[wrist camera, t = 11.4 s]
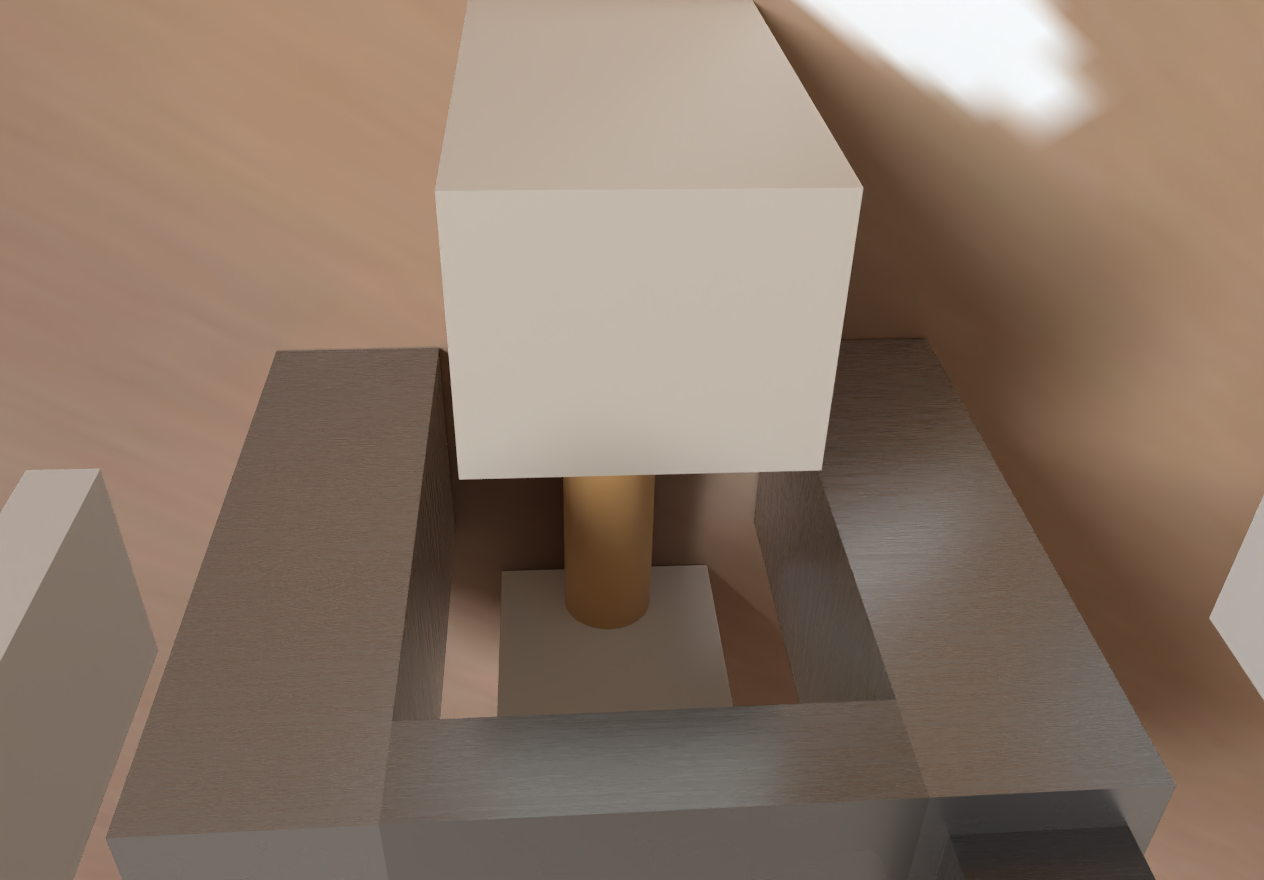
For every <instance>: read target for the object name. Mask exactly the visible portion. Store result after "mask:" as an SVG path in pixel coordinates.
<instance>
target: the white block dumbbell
mask: <svg viewBox="0 0 1264 880" xmlns="http://www.w3.org/2000/svg"><path fill="white" fill-rule="evenodd" d="M862 194H863V186H862V184H861V183H860V181H859V179H858V178H857V176H856V174H855V173H854V171H853V169H852V167H851V166H850V164H849V162H848V161H847V159H846V157H845V156H844V154H843V152H842V151H841V149H840V147H839V146H838V144H837V142H836V140H835V139H834V137H833V135H832V134H831V132H830V130H829V129H828V127H827V125H826V124H825V122H824V120H823V119H822V117H821V115H820V113H819V112H818V110H817V108H816V107H815V105H814V103H813V102H812V100H811V98H810V97H809V95H808V93H807V92H806V90H805V88H804V87H803V85H802V83H801V81H800V80H799V78H798V76H797V75H796V73H795V71H794V70H793V68H792V66H791V65H790V63H789V61H788V60H787V58H786V56H785V54H784V53H783V51H782V49H781V48H780V46H779V44H778V43H777V41H776V39H775V38H774V36H773V34H772V33H771V31H770V29H769V27H768V26H767V24H766V22H765V21H764V19H763V17H762V16H761V14H760V12H759V11H758V9H757V7H756V6H755V4H754V2H753V0H468V4H467V9H466V15H465V21H464V27H463V32H462V38H461V44H460V50H459V55H458V61H457V67H456V73H455V78H454V84H453V90H452V96H451V101H450V107H449V113H448V119H447V124H446V130H445V136H444V142H443V147H442V153H441V159H440V165H439V170H438V176H437V182H436V188H435V198H436V210H437V222H438V234H439V246H440V258H441V270H442V282H443V294H444V306H445V318H446V330H447V342H448V354H449V366H450V378H451V390H452V402H453V415H454V427H455V439H456V451H457V463H458V475H459V480H463V479H502V478H541V477H563V505H564V566H565V569H559V570H527V571H502V587H501V617H500V648H499V679H498V710H497V717H505V716H528V715H551V714H575V713H598V712H621V711H645V710H668V709H691V708H715V707H733V702H732V697H731V692H730V686H729V681H728V675H727V670H726V665H725V659H724V654H723V649H722V643H721V638H720V633H719V627H718V622H717V616H716V611H715V606H714V600H713V595H712V590H711V584H710V579H709V574H708V568H707V565H688V566H656V567H651V561H652V538H653V514H654V491H655V475H660V474H699V473H739V472H778V471H817V470H822V463H823V456H824V450H825V443H826V436H827V430H828V423H829V416H830V409H831V403H832V396H833V389H834V382H835V376H836V369H837V362H838V356H839V349H840V342H841V335H842V329H843V322H844V315H845V308H846V302H847V295H848V288H849V282H850V275H851V268H852V261H853V255H854V248H855V241H856V234H857V228H858V221H859V214H860V208H861V201H862Z"/></svg>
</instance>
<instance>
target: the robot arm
mask: <svg viewBox="0 0 1264 880" xmlns="http://www.w3.org/2000/svg"><path fill="white" fill-rule="evenodd" d="M1209 619H1210V620H1211V622H1212V623H1213V625H1214V626H1215V628H1216V629H1217V631H1218V632H1219V634H1220V635H1221V637H1222V638H1223V640H1224V641H1225V643H1226V644H1227V646H1228V647H1229V649H1230V650H1231V652H1232V653H1233V655H1234V656H1235V658H1236V659H1237V661H1238V662H1239V664H1240V665H1241V667H1242V668H1243V670H1244V671H1245V673H1246V674H1247V676H1248V677H1249V679H1250V680H1251V682H1252V683H1253V685H1254V686H1255V688H1256V689H1257V691H1258V692H1259V694H1260V695H1261V697H1262V698H1263V700H1264V496H1263V498H1262V500H1261V502H1260V505H1259V507H1258V509H1257V511H1256V514H1255V516H1254V518H1253V520H1252V523H1251V525H1250V527H1249V529H1248V532H1247V534H1246V536H1245V538H1244V541H1243V543H1242V545H1241V547H1240V550H1239V552H1238V554H1237V557H1236V559H1235V561H1234V563H1233V566H1232V568H1231V570H1230V572H1229V575H1228V577H1227V579H1226V581H1225V584H1224V586H1223V588H1222V590H1221V593H1220V595H1219V597H1218V599H1217V602H1216V604H1215V606H1214V608H1213V611H1212V613H1211V615H1210V617H1209ZM157 652H158V649H157V645H156V642H155V639H154V636H153V633H152V630H151V627H150V623H149V620H148V617H147V614H146V611H145V608H144V605H143V601H142V598H141V595H140V592H139V589H138V586H137V583H136V579H135V576H134V573H133V570H132V567H131V564H130V561H129V557H128V554H127V551H126V548H125V545H124V542H123V539H122V535H121V532H120V529H119V526H118V523H117V520H116V516H115V513H114V510H113V507H112V504H111V501H110V498H109V494H108V491H107V488H106V485H105V482H104V479H103V476H102V472H101V469H63V470H26V471H25V473H24V474H23V476H22V478H21V479H20V481H19V483H18V484H17V486H16V488H15V489H14V491H13V493H12V494H11V496H10V498H9V499H8V501H7V503H6V504H5V506H4V507H3V509H2V511H1V512H0V880H73V878H74V875H75V873H76V870H77V867H78V865H79V862H80V859H81V857H82V854H83V851H84V849H85V846H86V843H87V840H88V838H89V835H90V832H91V830H92V827H93V824H94V822H95V819H96V816H97V814H98V811H99V808H100V806H101V803H102V800H103V797H104V795H105V792H106V789H107V787H108V784H109V781H110V779H111V776H112V773H113V771H114V768H115V765H116V763H117V760H118V757H119V755H120V752H121V749H122V746H123V744H124V741H125V738H126V736H127V733H128V730H129V728H130V725H131V722H132V720H133V717H134V714H135V711H136V709H137V706H138V703H139V701H140V698H141V695H142V693H143V690H144V687H145V685H146V682H147V679H148V677H149V674H150V671H151V668H152V666H153V663H154V660H155V658H156V655H157Z"/></svg>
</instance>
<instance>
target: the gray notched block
mask: <svg viewBox="0 0 1264 880" xmlns="http://www.w3.org/2000/svg"><path fill="white" fill-rule="evenodd" d="M754 524H755V528H756V532H757V536H758V540H759V544H760V548H761V552H762V556H763V560H764V564H765V568H766V572H767V576H768V580H769V584H770V588H771V592H772V595H773V599H774V603H775V607H776V611H777V615H778V619H779V623H780V627H781V631H782V635H783V639H784V643H785V647H786V651H787V655H788V659H789V663H790V667H791V671H792V675H793V679H794V683H795V687H796V691H797V695H798V699H799V703H800V704H785V705H762V706H738V707H715V708H691V709H668V710H645V711H621V712H598V713H575V714H551V715H528V716H505V717H481V718H458V719H440V714H441V702H442V690H443V677H444V665H445V653H446V641H447V629H448V616H449V604H450V592H451V580H452V568H453V556H454V543H455V521H454V510H453V499H452V488H451V477H450V466H449V455H448V444H447V433H446V422H445V411H444V400H443V388H442V377H441V366H440V355H439V348H425V349H374V350H323V351H276V354H275V357H274V360H273V362H272V365H271V368H270V371H269V374H268V377H267V380H266V382H265V385H264V388H263V391H262V394H261V397H260V400H259V402H258V405H257V408H256V411H255V414H254V417H253V419H252V422H251V425H250V428H249V431H248V434H247V437H246V439H245V442H244V445H243V448H242V451H241V454H240V457H239V459H238V462H237V465H236V468H235V471H234V474H233V476H232V479H231V482H230V485H229V488H228V491H227V494H226V496H225V499H224V502H223V505H222V508H221V511H220V514H219V516H218V519H217V522H216V525H215V528H214V531H213V534H212V536H211V539H210V542H209V545H208V548H207V551H206V553H205V556H204V559H203V562H202V565H201V568H200V571H199V573H198V576H197V579H196V582H195V585H194V588H193V591H192V593H191V596H190V599H189V602H188V605H187V608H186V611H185V613H184V616H183V619H182V622H181V625H180V628H179V630H178V633H177V636H176V639H175V642H174V645H173V648H172V650H171V653H170V656H169V659H168V662H167V665H166V668H165V670H164V673H163V676H162V679H161V682H160V685H159V688H158V690H157V693H156V696H155V699H154V702H153V705H152V707H151V710H150V713H149V716H148V719H147V722H146V725H145V727H144V730H143V733H142V736H141V739H140V742H139V745H138V747H137V750H136V753H135V756H134V759H133V762H132V765H131V767H130V770H129V773H128V776H127V779H126V782H125V784H124V787H123V790H122V793H121V796H120V799H119V802H118V804H117V807H116V810H115V813H114V816H113V819H112V822H111V824H110V827H109V830H108V833H107V836H106V840H107V843H108V845H109V848H110V850H111V853H112V855H113V858H114V860H115V862H116V865H117V867H118V870H119V872H120V875H121V877H122V880H1155V878H1154V876H1153V874H1152V872H1151V870H1150V868H1149V866H1148V864H1147V862H1146V860H1145V858H1144V853H1145V851H1146V849H1147V847H1148V845H1149V843H1150V841H1151V838H1152V836H1153V834H1154V832H1155V830H1156V828H1157V826H1158V823H1159V821H1160V819H1161V817H1162V815H1163V813H1164V811H1165V808H1166V806H1167V804H1168V802H1169V800H1170V798H1171V796H1172V794H1173V791H1174V789H1175V787H1176V784H1175V782H1174V781H1173V779H1172V777H1171V775H1170V773H1169V772H1168V770H1167V768H1166V766H1165V764H1164V763H1163V761H1162V759H1161V757H1160V756H1159V754H1158V752H1157V750H1156V748H1155V747H1154V745H1153V743H1152V741H1151V739H1150V738H1149V736H1148V734H1147V732H1146V731H1145V729H1144V727H1143V725H1142V723H1141V722H1140V720H1139V718H1138V716H1137V714H1136V713H1135V711H1134V709H1133V707H1132V705H1131V704H1130V702H1129V700H1128V698H1127V697H1126V695H1125V693H1124V691H1123V689H1122V688H1121V686H1120V684H1119V682H1118V680H1117V679H1116V677H1115V675H1114V673H1113V672H1112V670H1111V668H1110V666H1109V664H1108V663H1107V661H1106V659H1105V657H1104V655H1103V654H1102V652H1101V650H1100V648H1099V646H1098V645H1097V643H1096V641H1095V639H1094V638H1093V636H1092V634H1091V632H1090V630H1089V629H1088V627H1087V625H1086V623H1085V621H1084V620H1083V618H1082V616H1081V614H1080V613H1079V611H1078V609H1077V607H1076V605H1075V604H1074V602H1073V600H1072V598H1071V596H1070V595H1069V593H1068V591H1067V589H1066V588H1065V586H1064V584H1063V582H1062V580H1061V579H1060V577H1059V575H1058V573H1057V571H1056V570H1055V568H1054V566H1053V564H1052V562H1051V561H1050V559H1049V557H1048V555H1047V554H1046V552H1045V550H1044V548H1043V546H1042V545H1041V543H1040V541H1039V539H1038V537H1037V536H1036V534H1035V532H1034V530H1033V529H1032V527H1031V525H1030V523H1029V521H1028V520H1027V518H1026V516H1025V514H1024V512H1023V511H1022V509H1021V507H1020V505H1019V503H1018V502H1017V500H1016V498H1015V496H1014V495H1013V493H1012V491H1011V489H1010V487H1009V486H1008V484H1007V482H1006V480H1005V478H1004V477H1003V475H1002V473H1001V471H1000V470H999V468H998V466H997V464H996V462H995V461H994V459H993V457H992V455H991V453H990V452H989V450H988V448H987V446H986V444H985V443H984V441H983V439H982V437H981V436H980V434H979V432H978V430H977V428H976V427H975V425H974V423H973V421H972V419H971V418H970V416H969V414H968V412H967V411H966V409H965V407H964V405H963V403H962V402H961V400H960V398H959V396H958V394H957V393H956V391H955V389H954V387H953V385H952V384H951V382H950V380H949V378H948V377H947V375H946V373H945V371H944V369H943V368H942V366H941V364H940V362H939V360H938V359H937V357H936V355H935V353H934V352H933V350H932V348H931V346H930V344H929V343H928V341H927V339H883V340H841V342H840V349H839V356H838V362H837V369H836V376H835V382H834V389H833V396H832V403H831V409H830V416H829V423H828V430H827V436H826V443H825V450H824V456H823V463H822V470H817V471H778V472H760V473H759V482H758V491H757V501H756V510H755V519H754Z"/></svg>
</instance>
